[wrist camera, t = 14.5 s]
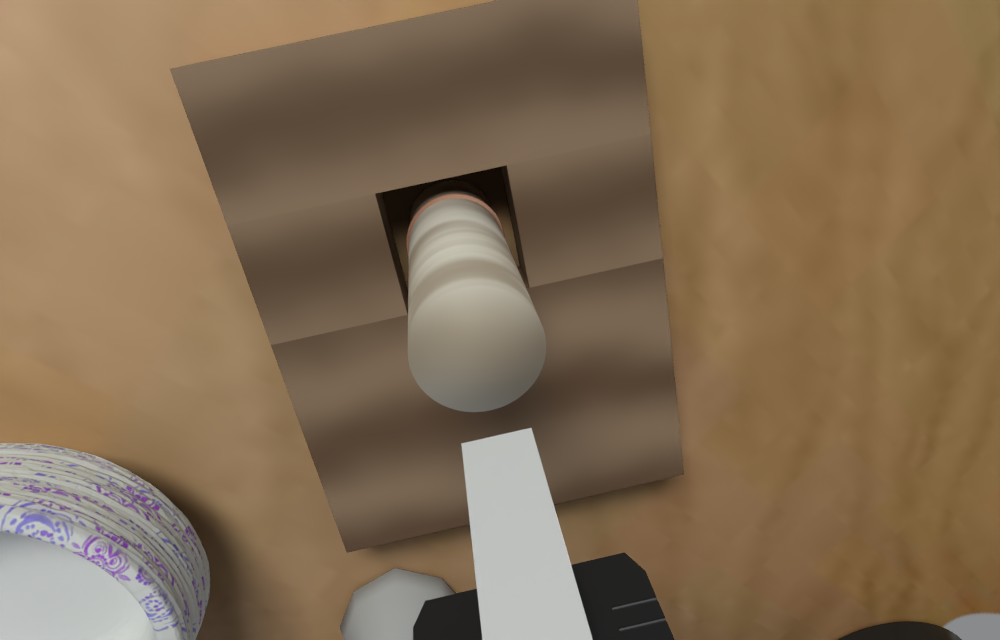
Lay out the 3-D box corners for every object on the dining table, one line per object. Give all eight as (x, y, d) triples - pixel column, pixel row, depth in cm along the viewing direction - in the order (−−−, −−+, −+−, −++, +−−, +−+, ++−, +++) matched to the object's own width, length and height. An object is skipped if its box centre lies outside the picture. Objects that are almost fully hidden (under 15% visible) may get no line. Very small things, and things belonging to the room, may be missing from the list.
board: (664, 442, 39) (683, 474, 36) (351, 514, 39) (346, 552, 36) (614, -24, 29) (634, -29, 27) (192, 64, 29) (169, 68, 26)
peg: (503, 254, 34) (559, 397, 21) (418, 273, 34) (423, 428, 21) (486, 169, 32) (536, 268, 19) (397, 188, 32) (387, 301, 19)
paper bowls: (-76, 622, 38) (-190, 762, 31) (-92, 381, 33) (-235, 484, 26) (213, 646, 41) (171, 780, 34) (242, 431, 36) (199, 534, 29)
